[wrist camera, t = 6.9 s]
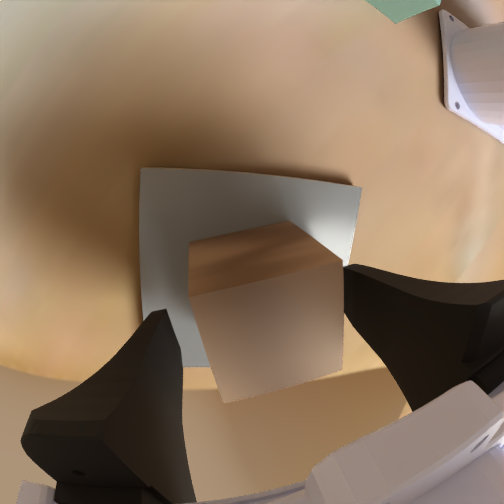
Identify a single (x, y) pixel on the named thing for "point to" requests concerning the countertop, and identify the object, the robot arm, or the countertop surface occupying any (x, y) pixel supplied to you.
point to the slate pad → (225, 228)
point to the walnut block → (267, 308)
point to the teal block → (403, 7)
